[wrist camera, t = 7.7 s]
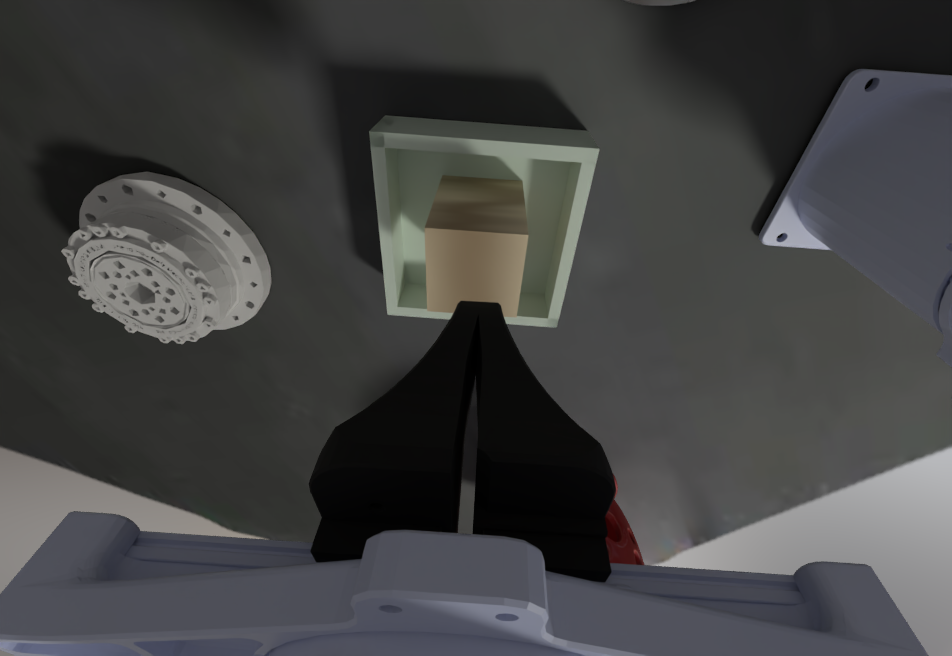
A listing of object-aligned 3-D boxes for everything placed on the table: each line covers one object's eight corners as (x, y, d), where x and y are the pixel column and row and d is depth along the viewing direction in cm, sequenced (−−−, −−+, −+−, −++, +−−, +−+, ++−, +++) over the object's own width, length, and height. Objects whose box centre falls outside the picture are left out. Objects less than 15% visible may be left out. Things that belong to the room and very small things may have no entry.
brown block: (522, 180, 20) (528, 235, 15) (513, 252, 23) (516, 317, 18) (442, 175, 20) (424, 227, 15) (442, 247, 23) (427, 311, 18)
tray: (587, 130, 19) (599, 148, 17) (551, 297, 25) (556, 327, 23) (385, 115, 19) (368, 131, 17) (398, 285, 25) (387, 314, 23)
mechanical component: (226, 161, 21) (56, 177, 22) (172, 192, 18) (-25, 210, 19) (297, 313, 27) (163, 320, 28) (268, 358, 24) (116, 364, 25)
